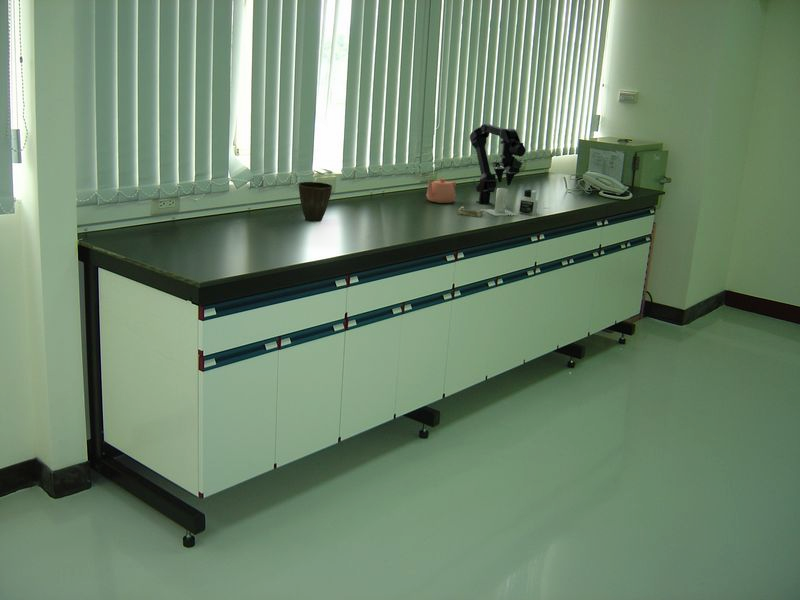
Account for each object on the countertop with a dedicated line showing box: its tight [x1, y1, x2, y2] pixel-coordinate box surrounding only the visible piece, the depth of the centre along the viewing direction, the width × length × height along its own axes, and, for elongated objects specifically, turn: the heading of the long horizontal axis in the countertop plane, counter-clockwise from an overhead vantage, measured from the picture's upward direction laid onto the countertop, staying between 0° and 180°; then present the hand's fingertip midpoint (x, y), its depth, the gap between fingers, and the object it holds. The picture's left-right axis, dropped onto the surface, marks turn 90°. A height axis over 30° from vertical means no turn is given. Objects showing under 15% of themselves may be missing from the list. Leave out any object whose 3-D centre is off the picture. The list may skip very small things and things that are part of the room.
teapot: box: [426, 177, 457, 204], centre depth 449 cm, size 22×15×12 cm
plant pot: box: [298, 181, 333, 222], centre depth 380 cm, size 15×15×16 cm
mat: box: [482, 208, 519, 217], centre depth 432 cm, size 14×14×1 cm
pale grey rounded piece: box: [494, 187, 509, 213], centre depth 429 cm, size 8×5×12 cm
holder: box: [457, 206, 484, 217], centre depth 423 cm, size 8×11×2 cm
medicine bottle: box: [518, 189, 539, 216], centre depth 436 cm, size 7×7×12 cm
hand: (504, 183), depth 441 cm, fingers open, 9 cm apart
